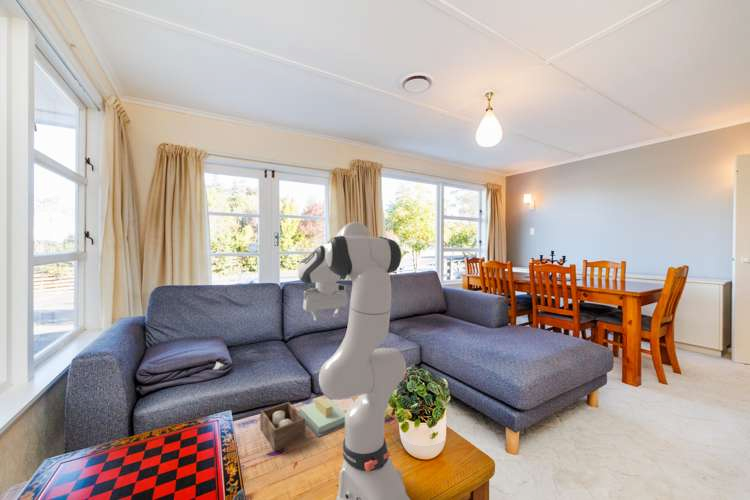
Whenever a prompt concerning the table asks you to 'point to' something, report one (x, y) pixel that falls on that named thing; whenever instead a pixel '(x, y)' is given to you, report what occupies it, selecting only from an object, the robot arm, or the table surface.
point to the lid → (323, 414)
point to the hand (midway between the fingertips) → (326, 318)
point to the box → (282, 425)
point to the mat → (323, 431)
